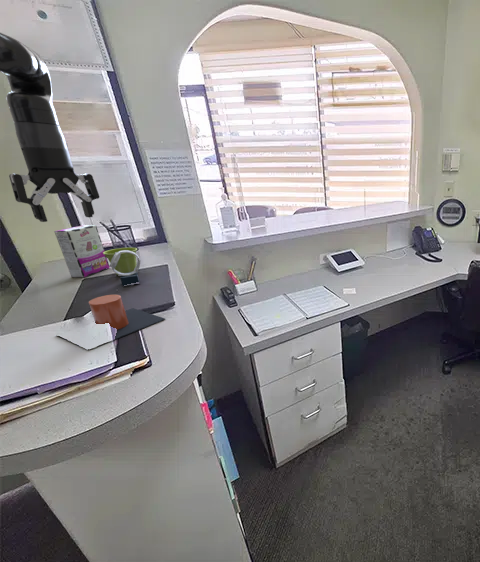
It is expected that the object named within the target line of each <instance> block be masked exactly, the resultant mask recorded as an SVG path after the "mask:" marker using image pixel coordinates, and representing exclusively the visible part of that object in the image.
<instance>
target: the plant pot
mask: <svg viewBox="0 0 480 562" xmlns="http://www.w3.org/2000/svg"><path fill="white" fill-rule="evenodd" d="M122 250H126V251H127V250H129V251H132V252H134V253H136V254H137V251H138V248H137V247H120V248H119V247H118V248H114V249H113V248H112V249H109V250H104V251H105V252H103V254H104V255H105V256H106V257H107V260H108V263H109V264H110V263H111V260H112V258H113V256H114V254H115V252H117V253H118V252H119V251H122ZM136 265H137V257H136V256H135V255H133V254H131V253H127V252H126V253H121V254H120V258H119V261H118V263H117V265H116V267H115V268H114V269H115V270H117V271H118V272H121V273H128V272H133V271H134V269H135V267H136ZM114 273H115V272H114ZM117 275H118V274H116V273H115V276H117Z"/></svg>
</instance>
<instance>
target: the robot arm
mask: <svg viewBox="0 0 480 562" xmlns="http://www.w3.org/2000/svg"><path fill="white" fill-rule="evenodd" d="M0 73H3V74H5V75H7V77H8V81H9V86H10V91H11V92H8V93H6V104H7V105H8V108H9V109H8V110H9V112H10V115H11V118H12V121H13V125H14V131H15V135H16V138H17V141H18V144H19V147H20V150H21V153H22V156H23V159H24V162H25V165H26V167H27V170H28V171H27V172H28V173H27V174H19V173H10V174H9V175H8V177H9V181H10V185H11V188H12V192H13V195H14V199H15V201H16V202H17V203H22V204H28V205H29V206H30V208H31V211H32V214H33V217H34V218H35V219H36V220H39V222H41V223H47V222H48V218H47V215H46V212H45V210H44V206H43V205H41V203H42V201H43V200H44V198H45V197H46V196H47V195H48V194H51V195H55V194H72V195H74V197H76V198H78V199H79V200H80V204H81V207H82V211H83V213H84V216H85V218H93V216H94V215H95V210H94V206H93V203H92V202H93V201H94V200H98V199H100V194H99V191H98V188H97V185H96V183H95V180H94V177H93V175H92V174H91V173H82V174H76V172H75V170H74V165H73V162H72V158H71V155H70V152H69V148H68V143H67V141H66V138H65V135H64V133H63V131H62V128H61V126H60V122H59V118H58V116H57V113H56V109H55V107H54V103H53V88H52V80H51V75H50V71H49V69H48V67H47V64H46V62H45V61H44V59H43V58H42V56H40V54H39V53H38V52H36V51H35V50H33V49H32V48H30V47H28V46H27V45H26V44H24V43H22V42H21V41H19V40H17V39H16V38H14V37H11V36H9V35H7V34H4V33H3V32H0ZM28 181H30V182H31V183H32V184H33V185H35V187H34V189H33V191H32V193H31V195H30V197H28V195H27V191H26V187H25V185H27V184H28ZM79 181H80V182H81V184H84V186H85V190H86V192H85V191H84V190H82V189H81V188H80V187H79V186H77V183H78V182H79ZM86 193H87V194H86Z"/></svg>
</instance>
